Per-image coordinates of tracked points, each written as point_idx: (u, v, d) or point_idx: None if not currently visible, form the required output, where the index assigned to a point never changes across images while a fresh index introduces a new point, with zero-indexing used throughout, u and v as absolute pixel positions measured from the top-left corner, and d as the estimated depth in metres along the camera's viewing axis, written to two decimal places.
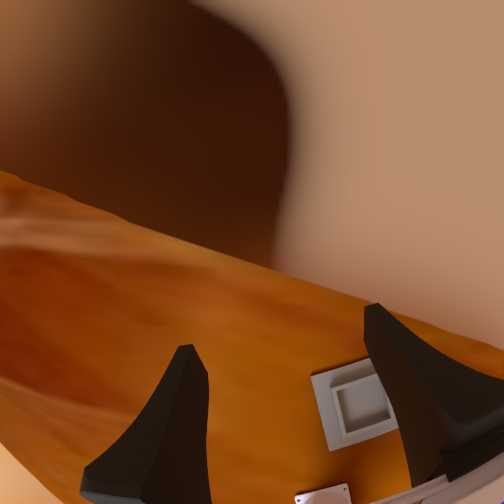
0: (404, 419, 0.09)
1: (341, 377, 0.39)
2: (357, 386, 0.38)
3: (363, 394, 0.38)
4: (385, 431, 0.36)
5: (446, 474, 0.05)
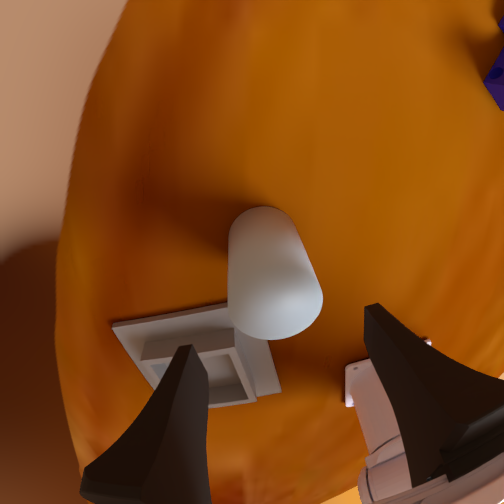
0: (404, 419, 0.09)
1: None
2: None
3: None
4: None
5: (446, 474, 0.05)
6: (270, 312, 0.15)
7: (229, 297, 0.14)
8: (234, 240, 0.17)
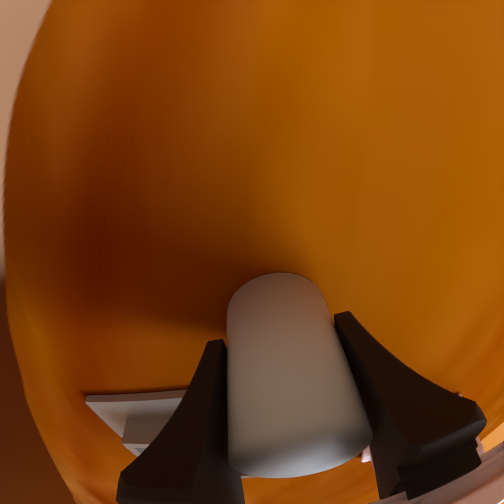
0: None
1: None
2: None
3: None
4: None
5: (405, 492, 0.06)
6: (292, 460, 0.08)
7: (231, 452, 0.08)
8: (236, 337, 0.11)
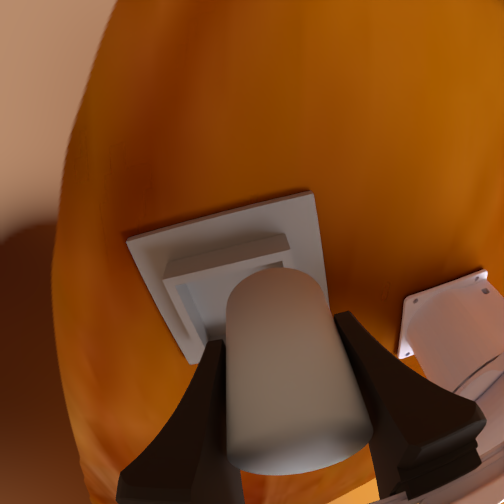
0: None
1: None
2: (204, 304, 0.21)
3: (222, 293, 0.21)
4: (317, 244, 0.20)
5: (406, 491, 0.06)
6: (291, 456, 0.08)
7: (230, 446, 0.07)
8: (237, 330, 0.11)
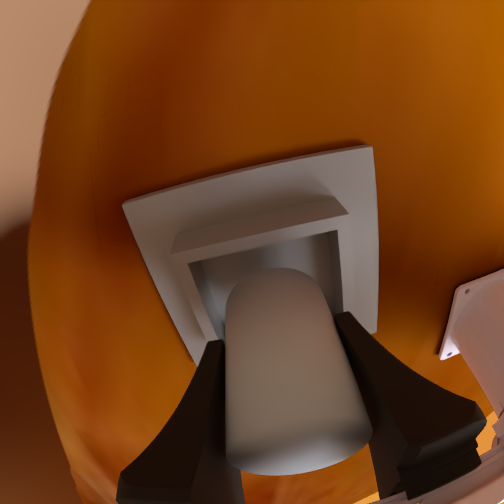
0: None
1: (199, 324, 0.17)
2: (223, 292, 0.16)
3: None
4: (372, 214, 0.15)
5: (405, 491, 0.06)
6: (290, 457, 0.08)
7: (229, 446, 0.07)
8: (237, 329, 0.11)
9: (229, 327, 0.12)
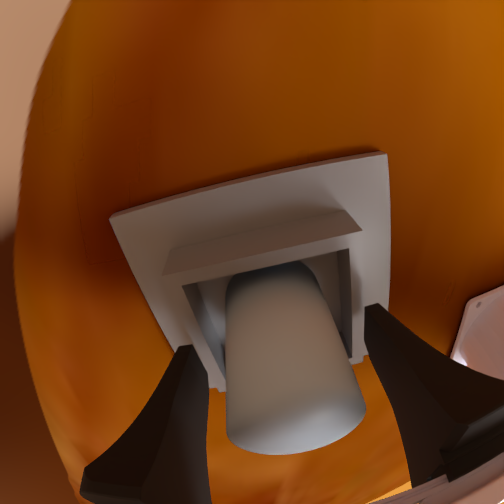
0: (404, 419, 0.09)
1: None
2: (222, 312, 0.15)
3: None
4: (385, 228, 0.13)
5: (446, 474, 0.05)
6: (287, 433, 0.09)
7: (230, 420, 0.08)
8: (236, 313, 0.12)
9: (229, 312, 0.12)
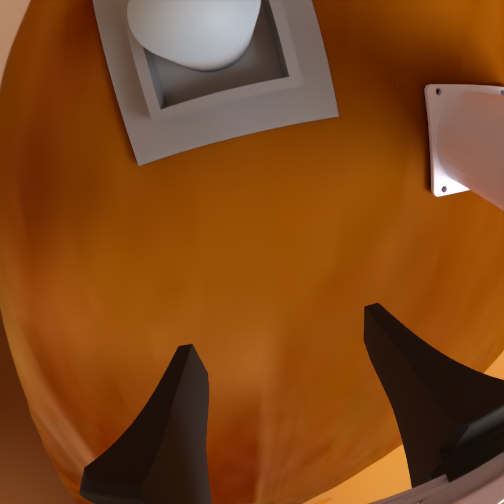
0: (404, 419, 0.09)
1: (140, 93, 0.15)
2: None
3: None
4: None
5: (446, 474, 0.05)
6: (183, 10, 0.08)
7: None
8: None
9: None
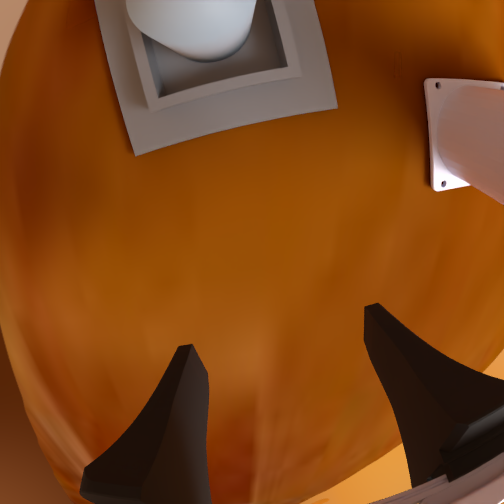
0: (404, 419, 0.09)
1: (138, 83, 0.15)
2: None
3: None
4: None
5: (446, 474, 0.05)
6: None
7: None
8: None
9: None
